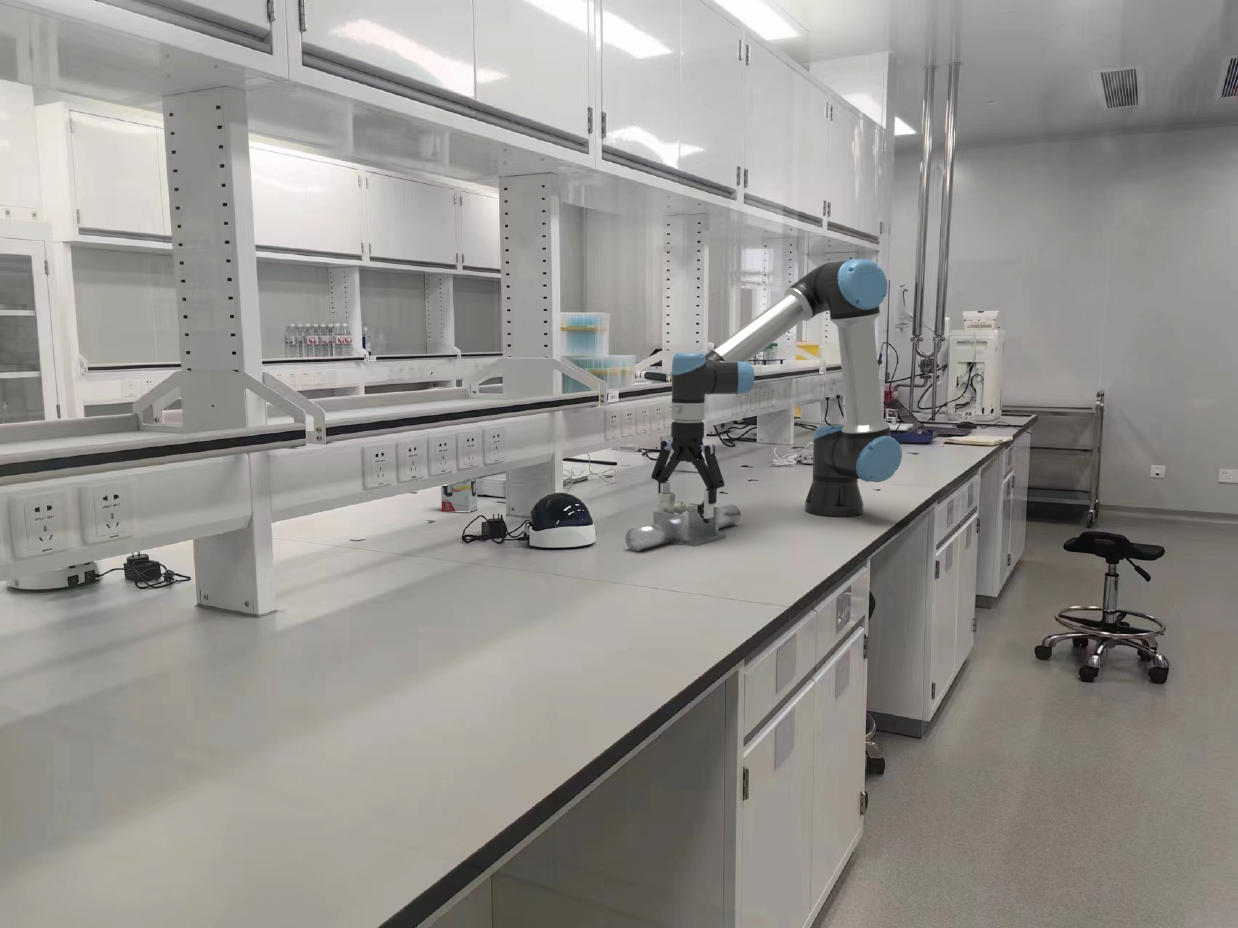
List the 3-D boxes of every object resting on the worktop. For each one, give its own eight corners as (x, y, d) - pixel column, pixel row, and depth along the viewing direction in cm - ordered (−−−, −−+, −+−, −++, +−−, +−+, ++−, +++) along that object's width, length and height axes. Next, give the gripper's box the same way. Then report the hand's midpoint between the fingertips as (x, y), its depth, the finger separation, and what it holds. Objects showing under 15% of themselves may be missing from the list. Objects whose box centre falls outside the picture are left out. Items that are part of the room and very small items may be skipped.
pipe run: (709, 520, 223) (709, 495, 222) (755, 528, 214) (756, 502, 213) (610, 546, 196) (610, 517, 195) (659, 556, 186) (659, 526, 186)
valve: (654, 523, 203) (706, 526, 200) (655, 495, 202) (707, 497, 199) (660, 517, 209) (710, 520, 206) (660, 490, 208) (711, 492, 205)
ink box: (440, 511, 234) (439, 467, 232) (449, 508, 239) (448, 465, 237) (469, 513, 232) (468, 469, 230) (478, 509, 236) (477, 466, 235)
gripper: (636, 418, 206) (636, 509, 209) (721, 425, 190) (719, 523, 193) (657, 416, 212) (656, 504, 215) (741, 423, 196) (739, 518, 199)
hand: (686, 513), depth 204 cm, fingers closed on valve, 12 cm apart
